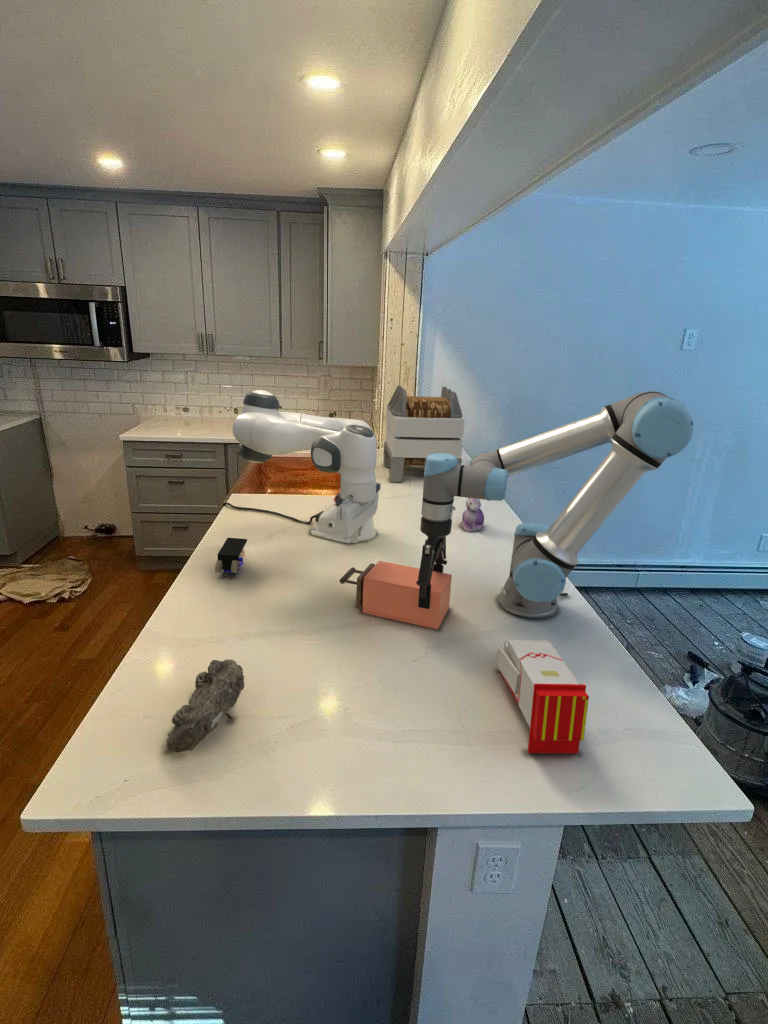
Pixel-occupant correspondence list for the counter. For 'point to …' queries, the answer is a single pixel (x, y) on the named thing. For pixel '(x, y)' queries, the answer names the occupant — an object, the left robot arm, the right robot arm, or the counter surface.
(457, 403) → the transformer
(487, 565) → the counter surface
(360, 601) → the drawer
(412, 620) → the cabinet
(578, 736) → the toy
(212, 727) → the fossil
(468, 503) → the figurine
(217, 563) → the figurine character
